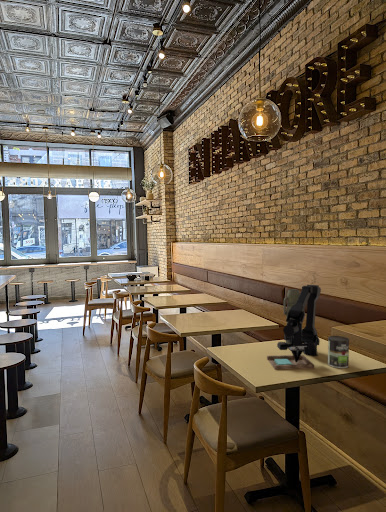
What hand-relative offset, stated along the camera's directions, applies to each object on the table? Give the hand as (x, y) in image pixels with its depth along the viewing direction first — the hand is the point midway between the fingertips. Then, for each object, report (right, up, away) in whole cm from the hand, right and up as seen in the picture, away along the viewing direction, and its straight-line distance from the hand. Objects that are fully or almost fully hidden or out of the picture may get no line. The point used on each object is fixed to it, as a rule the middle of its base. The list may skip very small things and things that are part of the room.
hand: (296, 361), depth 196 cm
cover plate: (-7, -1, 0) cm, 7 cm away
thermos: (+7, 0, +32) cm, 32 cm away
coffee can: (+22, -2, -1) cm, 22 cm away
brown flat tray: (-3, -2, 0) cm, 4 cm away
